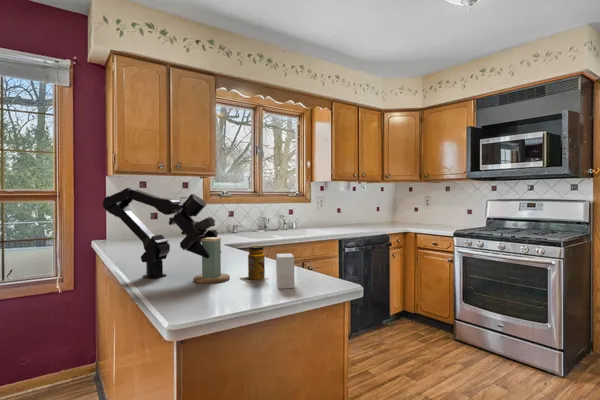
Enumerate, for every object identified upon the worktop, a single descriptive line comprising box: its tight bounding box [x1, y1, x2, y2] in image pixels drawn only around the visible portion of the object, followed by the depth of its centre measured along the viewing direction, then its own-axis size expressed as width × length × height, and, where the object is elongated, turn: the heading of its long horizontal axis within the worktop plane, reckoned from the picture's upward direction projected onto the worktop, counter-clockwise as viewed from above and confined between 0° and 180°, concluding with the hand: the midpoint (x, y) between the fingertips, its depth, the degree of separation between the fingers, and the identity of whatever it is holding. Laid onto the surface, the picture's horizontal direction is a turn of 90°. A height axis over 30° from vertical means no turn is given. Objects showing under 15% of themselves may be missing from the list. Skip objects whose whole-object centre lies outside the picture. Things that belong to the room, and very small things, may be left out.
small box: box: [275, 253, 296, 290], centre depth 122 cm, size 8×6×10 cm
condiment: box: [240, 245, 269, 283], centre depth 133 cm, size 7×8×12 cm
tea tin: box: [201, 237, 222, 278], centre depth 133 cm, size 5×5×14 cm
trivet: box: [193, 272, 231, 285], centre depth 133 cm, size 13×13×1 cm
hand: (214, 255), depth 132 cm, fingers open, 9 cm apart
